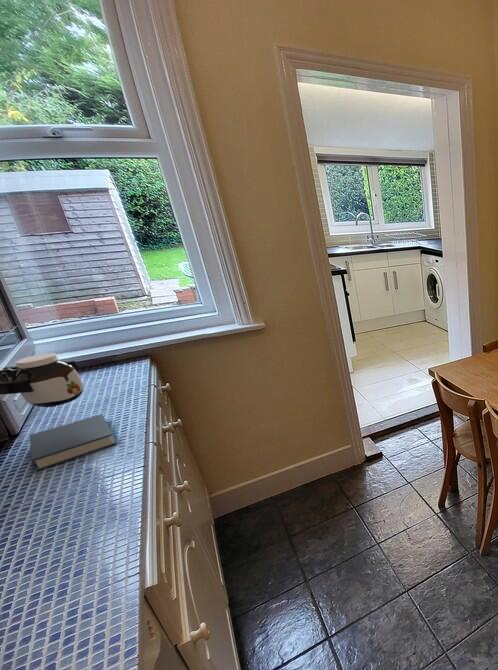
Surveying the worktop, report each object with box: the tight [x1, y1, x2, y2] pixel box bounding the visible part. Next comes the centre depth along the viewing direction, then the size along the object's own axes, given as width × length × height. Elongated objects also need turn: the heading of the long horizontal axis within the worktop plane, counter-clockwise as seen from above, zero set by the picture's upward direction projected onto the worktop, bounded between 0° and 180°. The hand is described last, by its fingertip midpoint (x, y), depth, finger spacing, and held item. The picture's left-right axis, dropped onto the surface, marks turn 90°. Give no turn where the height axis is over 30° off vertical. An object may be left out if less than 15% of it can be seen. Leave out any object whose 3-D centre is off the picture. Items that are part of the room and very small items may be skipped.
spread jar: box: [14, 352, 85, 408], centre depth 102 cm, size 12×11×12 cm
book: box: [29, 413, 117, 471], centre depth 105 cm, size 18×14×3 cm
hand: (54, 375), depth 101 cm, fingers closed on spread jar, 12 cm apart
